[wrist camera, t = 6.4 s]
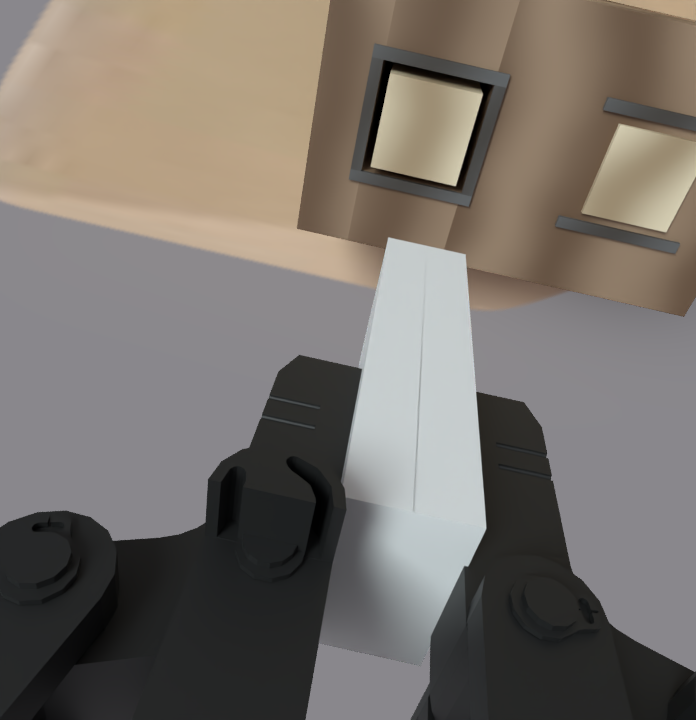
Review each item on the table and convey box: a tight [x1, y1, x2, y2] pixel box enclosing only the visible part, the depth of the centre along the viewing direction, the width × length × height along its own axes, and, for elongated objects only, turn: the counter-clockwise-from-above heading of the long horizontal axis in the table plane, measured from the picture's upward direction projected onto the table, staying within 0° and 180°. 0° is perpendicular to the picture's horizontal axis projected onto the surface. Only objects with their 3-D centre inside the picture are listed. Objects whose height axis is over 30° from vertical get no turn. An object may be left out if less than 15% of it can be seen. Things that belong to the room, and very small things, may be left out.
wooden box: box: [297, 0, 696, 317], centre depth 30 cm, size 20×12×9 cm, turn 80°
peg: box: [371, 62, 483, 186], centre depth 30 cm, size 4×4×8 cm
